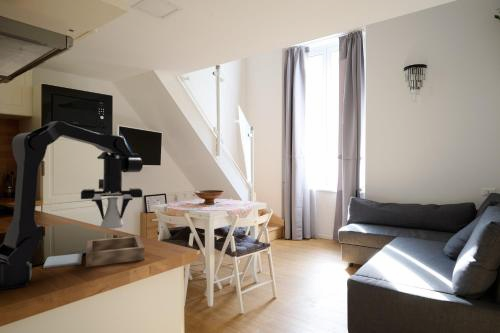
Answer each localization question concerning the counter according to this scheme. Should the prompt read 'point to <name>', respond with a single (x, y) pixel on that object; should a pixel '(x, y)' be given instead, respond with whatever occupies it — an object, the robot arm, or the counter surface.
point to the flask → (112, 215)
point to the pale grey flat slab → (63, 260)
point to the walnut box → (114, 250)
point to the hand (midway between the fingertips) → (112, 218)
